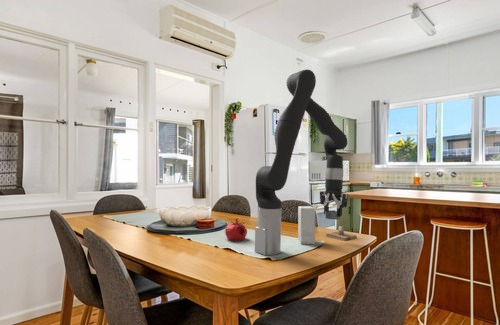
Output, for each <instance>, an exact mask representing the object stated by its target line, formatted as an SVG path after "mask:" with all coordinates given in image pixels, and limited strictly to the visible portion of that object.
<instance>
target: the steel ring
mask: <svg viewBox="0 0 500 325" xmlns="http://www.w3.org/2000/svg"><path fill="white" fill-rule="evenodd" d="M324 218H325V219H327V220H341V217H337V210H329V211H325V214H324Z"/></svg>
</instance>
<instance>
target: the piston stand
mask: <svg viewBox="0 0 500 325" xmlns="http://www.w3.org/2000/svg"><path fill="white" fill-rule="evenodd" d="M325 236H326V237H327V238H331V239H335V240H339V241H344V242H345V241H348V240H353V239H356V238H357V235H356V234H351V233H348V232H345V226H344V225H343V226H342V225H339V226H338V231H334V232H330V233H326V235H325Z"/></svg>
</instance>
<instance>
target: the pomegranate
mask: <svg viewBox="0 0 500 325" xmlns="http://www.w3.org/2000/svg"><path fill="white" fill-rule="evenodd" d="M234 220H235V221H234V222H233V221H230V222H229V223H227V224H228V225H226V226H225V230H224V233H225V236H226V238H227V239H228V240H230V241H236V242H240V241H243V240H244V239H245V238H246V237H247V233H248V229H247V228H246V226H245V223H244V222H240V221H239V218H236V217H235V219H234Z"/></svg>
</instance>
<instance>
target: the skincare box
mask: <svg viewBox="0 0 500 325" xmlns="http://www.w3.org/2000/svg"><path fill="white" fill-rule="evenodd" d="M297 215H298V216H297V217H298V218H297V220H298V221H297V222H298V223H297V228H298V229H297V230H298V231H297V240H298V241H299V243H300V245H315V244H316V208H315V207H313V206H308V205H307V206H306V205H305V206H304V205H303V206H302V205H301V206H298V207H297Z"/></svg>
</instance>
